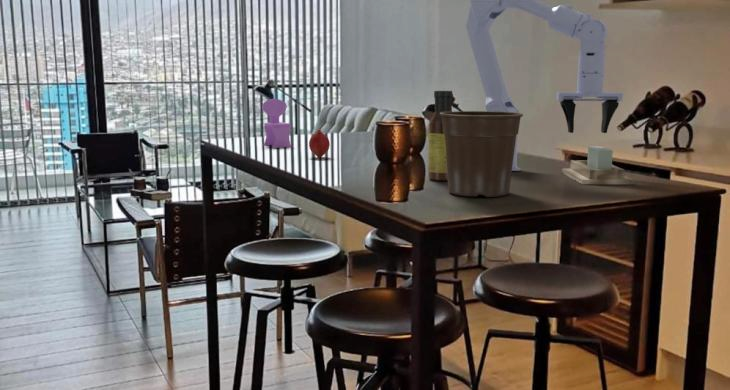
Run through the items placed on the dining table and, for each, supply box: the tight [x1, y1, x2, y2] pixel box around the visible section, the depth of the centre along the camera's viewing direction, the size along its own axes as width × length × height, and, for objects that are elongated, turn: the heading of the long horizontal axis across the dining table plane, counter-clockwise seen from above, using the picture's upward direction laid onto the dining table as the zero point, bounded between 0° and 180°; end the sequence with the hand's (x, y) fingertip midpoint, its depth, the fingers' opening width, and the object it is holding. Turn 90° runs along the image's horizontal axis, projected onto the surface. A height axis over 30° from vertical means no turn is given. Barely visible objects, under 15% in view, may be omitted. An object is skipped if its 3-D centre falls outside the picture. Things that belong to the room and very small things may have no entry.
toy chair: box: [261, 98, 292, 149], centre depth 227 cm, size 8×9×15 cm
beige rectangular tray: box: [561, 159, 635, 185], centre depth 161 cm, size 11×17×3 cm, turn 179°
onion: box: [308, 128, 331, 158], centre depth 198 cm, size 6×6×8 cm
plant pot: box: [440, 110, 524, 198], centre depth 142 cm, size 16×16×16 cm
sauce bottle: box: [427, 90, 454, 182], centre depth 158 cm, size 6×6×20 cm
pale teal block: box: [587, 145, 614, 170], centre depth 159 cm, size 3×8×6 cm, turn 179°
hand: (587, 132), depth 165 cm, fingers open, 7 cm apart
